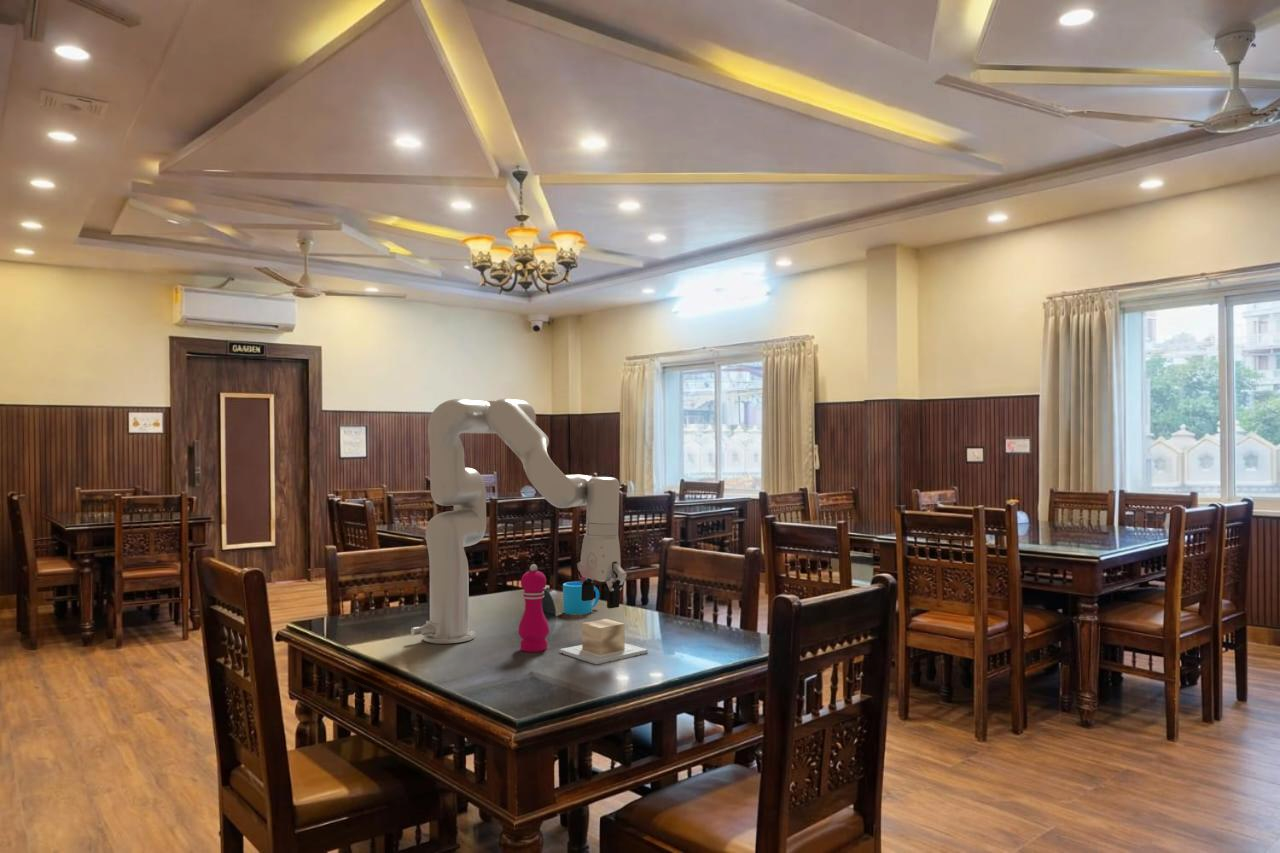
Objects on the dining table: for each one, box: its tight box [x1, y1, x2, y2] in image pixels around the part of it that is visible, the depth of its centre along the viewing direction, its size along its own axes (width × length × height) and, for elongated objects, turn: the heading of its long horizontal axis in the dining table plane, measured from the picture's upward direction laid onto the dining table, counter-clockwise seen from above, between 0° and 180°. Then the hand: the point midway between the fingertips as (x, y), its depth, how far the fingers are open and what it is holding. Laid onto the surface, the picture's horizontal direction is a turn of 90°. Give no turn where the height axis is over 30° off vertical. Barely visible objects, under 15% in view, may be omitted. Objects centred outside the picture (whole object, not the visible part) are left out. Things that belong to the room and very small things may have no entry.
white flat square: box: [559, 642, 649, 665], centre depth 196 cm, size 15×14×1 cm
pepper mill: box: [518, 563, 550, 653], centre depth 200 cm, size 7×7×20 cm
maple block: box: [581, 618, 626, 655], centre depth 196 cm, size 7×7×6 cm
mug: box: [562, 581, 601, 615], centre depth 244 cm, size 12×8×8 cm
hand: (600, 603), depth 196 cm, fingers open, 9 cm apart
